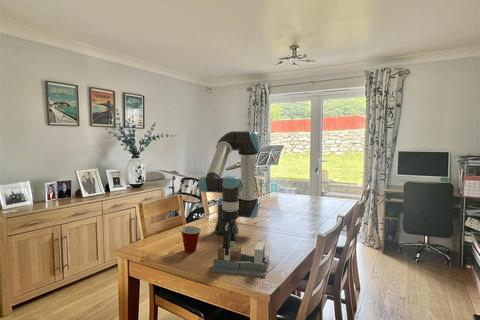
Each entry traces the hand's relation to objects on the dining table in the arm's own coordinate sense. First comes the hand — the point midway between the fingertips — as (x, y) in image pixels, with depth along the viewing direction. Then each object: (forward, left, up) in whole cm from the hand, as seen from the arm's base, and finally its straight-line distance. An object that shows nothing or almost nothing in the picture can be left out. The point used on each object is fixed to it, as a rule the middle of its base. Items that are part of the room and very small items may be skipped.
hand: (229, 257), depth 135 cm
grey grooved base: (0, +6, -4) cm, 7 cm away
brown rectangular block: (0, 0, -2) cm, 2 cm away
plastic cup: (-12, -24, -4) cm, 27 cm away
